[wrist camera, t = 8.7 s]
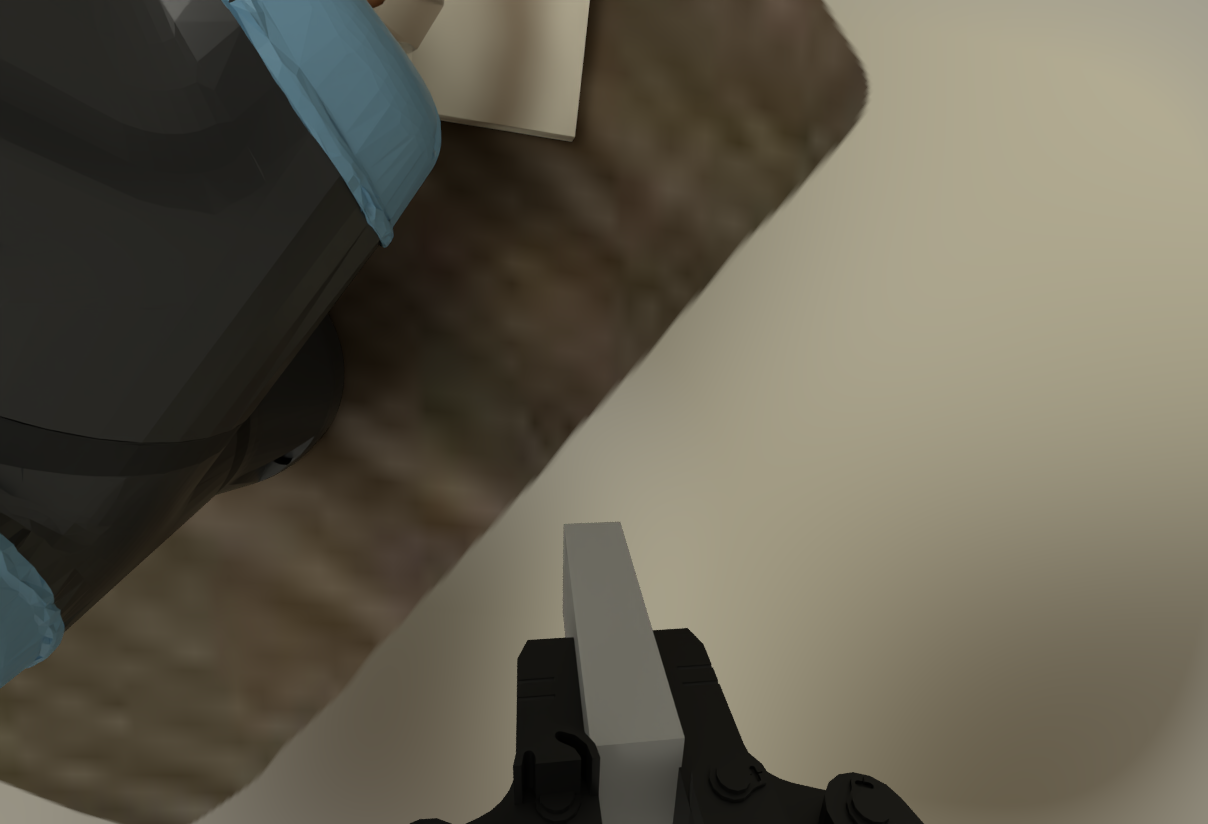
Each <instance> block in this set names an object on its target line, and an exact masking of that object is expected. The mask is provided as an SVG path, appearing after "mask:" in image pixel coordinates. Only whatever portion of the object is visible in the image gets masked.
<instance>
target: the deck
mask: <svg viewBox="0 0 1208 824" xmlns="http://www.w3.org/2000/svg"><path fill="white" fill-rule="evenodd" d="M589 3H590V0H385V1H384V3H383V4H382V5H380V6H378V7H375V8H373V9H374V11H375V12H376V13H377V15H378V16H379V17H380V18H381V20H382V21H383V23H384V24H385V25H386V27H387V28H388V29H389V31H390V32H391V34H392V35H393V36H394V38H395V39H396V40H397V42H398V43H399V44H400V46H401V47H402V49H403V50H404V51H405V53H406V54H407V56H408V57H409V59H410V60H411V62H412V63H413V65H414V66H415V68H416V69H417V71H418V72H419V74H420V75H421V77H422V79H423V80H424V82H425V84H426V86H427V88H428V89H429V91H430V93H431V95H432V98H433V100H434V103H435V106H436V108H437V111H438V114H439V117H440V120H442V121H448V122H454V123H460V124H466V125H472V126H478V127H484V128H490V129H497V130H503V131H509V132H515V133H521V134H527V135H533V136H539V137H545V138H552V139H558V140H564V141H570V142H572V141H573V139H574V138H575V132H576V123H577V114H578V105H579V95H580V86H581V77H582V68H583V59H584V49H585V40H586V31H587V22H588V13H589Z"/></svg>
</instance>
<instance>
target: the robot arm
mask: <svg viewBox="0 0 1208 824" xmlns="http://www.w3.org/2000/svg"><path fill="white" fill-rule="evenodd" d="M440 148H441V121H440V117H439V114H438V111H437V108H436V106H435V103H434V100H433V98H432V95H431V93H430V91H429V89H428V88H427V86H426V84H425V82H424V80H423V79H422V77H421V75H420V74H419V72H418V71H417V69H416V68H415V66H414V65H413V63H412V62H411V60H410V59H409V57H408V56H407V54H406V53H405V51H404V50H403V49H402V47H401V46H400V44H399V43H398V42H397V40H396V39H395V38H394V36H393V35H392V34H391V32H390V31H389V29H388V28H387V27H386V25H385V24H384V23H383V21H382V20H381V18H380V17H379V16H378V15H377V13H376V12H375V11H374V9H373V8H372V7H371V5H370V4H369V3H368V1H367V0H0V688H1V687H3V686H4V685H5V684H6V683H8V682H9V681H10V680H11V679H13V678H14V677H15V676H16V675H18V674H19V673H20V672H21V671H23V670H24V669H25V668H29V667H32V666H34V665H36V664H37V663H38V662H41V661H43V660H45V659H46V658H47V657H48V656H49V655H50V654H51V653H52V652H53V651H54V650H55V649H56V648H57V647H58V646H59V644H60V642H61V639H62V637H63V633H64V632H65V631H66V630H67V629H68V628H70V627H71V626H72V625H73V624H74V623H75V622H76V621H77V620H78V619H79V618H81V617H82V616H83V615H84V614H85V613H86V612H87V611H88V610H89V609H90V608H91V607H93V606H94V605H95V604H96V603H97V602H98V601H99V600H100V599H101V598H102V597H104V596H105V595H106V594H107V593H108V592H109V591H110V590H111V589H112V588H113V587H114V586H116V585H117V584H118V583H119V582H120V581H121V580H122V579H123V578H124V577H125V576H127V575H128V574H129V573H130V572H131V571H132V570H133V569H134V568H135V567H137V566H138V565H139V564H140V563H141V562H142V561H143V560H144V559H145V558H146V557H148V556H149V555H150V554H151V553H152V552H153V551H154V550H155V549H156V548H158V547H159V546H160V545H161V544H162V543H163V542H164V541H165V540H166V539H167V538H169V537H170V536H171V535H172V534H173V533H174V532H175V531H176V530H177V529H178V528H180V527H181V526H182V525H183V524H184V523H185V522H186V521H187V520H188V519H190V518H191V517H192V516H193V515H194V514H195V513H196V512H197V511H198V510H199V509H201V508H202V507H203V506H204V505H205V504H206V503H207V502H208V501H209V500H210V499H211V498H212V497H213V496H215V495H217V494H220V493H224V492H227V491H230V490H234V489H237V488H240V487H244V486H247V485H250V484H254V483H257V482H260V481H263V480H265V479H268V478H270V477H272V476H274V475H276V474H278V473H280V472H282V471H283V470H285V469H287V468H288V467H290V466H291V465H293V464H294V463H295V462H297V461H298V460H299V459H300V458H302V457H303V456H304V455H305V454H306V453H307V452H308V451H309V450H310V449H311V447H312V446H313V445H314V444H315V443H316V442H317V441H318V440H319V439H320V438H321V436H322V435H323V434H324V433H325V431H326V430H327V429H328V427H329V426H330V424H331V422H332V421H333V419H334V417H335V415H336V412H337V410H338V407H339V404H340V401H341V397H342V392H343V385H344V362H343V354H342V350H341V345H340V342H339V338H338V335H337V333H336V330H335V327H334V325H333V323H332V321H331V319H330V317H329V315H328V312H329V310H330V309H331V308H332V307H333V305H334V304H335V303H336V301H337V300H338V299H339V297H340V296H341V295H342V293H343V292H344V291H345V289H346V288H347V287H348V285H349V284H350V283H351V281H352V280H353V279H354V277H355V276H356V275H357V273H358V272H359V271H360V269H361V268H362V267H363V265H364V264H365V263H366V261H367V260H368V259H369V257H370V256H371V255H372V253H373V252H374V251H375V249H376V248H377V247H378V245H380V246H382V247H384V248H385V247H387V246H388V245H389V244H390V243H391V241H392V239H393V237H394V234H393V226H394V225H395V223H396V222H397V220H398V219H399V217H400V216H401V214H402V213H403V211H404V210H405V209H406V207H407V206H408V204H409V203H410V201H411V200H412V198H413V197H414V195H415V194H416V192H417V191H418V189H419V188H420V186H421V185H422V184H423V182H424V181H425V179H426V178H427V176H428V175H429V173H430V172H431V170H432V169H433V167H434V165H435V163H436V161H437V158H438V156H439V152H440ZM563 554H564V555H563V560H564V561H563V617H564V628H565V638H554V639H537V640H528V641H527V642H526V644H525V646H524V648H523V650H522V652H521V653H520V655H519V657H518V661H517V726H516V727H517V728H516V729H517V730H516V756H515V760H514V765H513V775H514V776H513V778H514V780H513V783H512V785H511V787H510V790H509V791H508V793H507V794H506V796H505V797H504V798H503V800H502V801H501V802H500V803H499V804H498V805H497V806H496V807H495V808H493V810H491V811H490V812H488V813H486V814H484V815H483V816H481V817H479V818H477V819H475V820H473V821H471V822H468V823H466V824H924V823H923V822H922V821H921V820H920V819H919V818H918V817H917V815H916V814H915V813H914V812H913V811H912V810H911V809H910V807H909V806H908V805H907V804H906V803H905V802H904V801H903V800H902V799H901V797H899V796H898V795H897V794H896V793H895V792H894V791H893V790H892V789H890V788H889V787H888V786H887V785H886V784H884V783H882V782H880V781H878V780H876V779H874V778H873V777H871V776H867V775H862V774H858V773H854V772H852V773H845V774H839V775H837V776H836V777H835V778H834V779H832V780H831V781H830V782H829V783H828V786H827V789H826V790H822V789H817V788H813V787H809V786H804V785H800V784H795V783H791V782H788V781H785V780H782V779H779V778H778V777H776V776H774V775H772V774H770V773H768V772H767V771H766V769H765V768H764V766H763V765H762V764H761V763H760V762H759V761H758V760H756V759H755V758H754V757H753V756H752V755H751V754H749V753H748V751H747V749H746V747H745V745H744V744H743V741H742V739H741V736H740V734H739V731H738V729H737V726H736V724H735V721H734V719H733V716H732V714H731V711H730V709H729V707H728V704H727V701H726V699H725V697H724V694H723V692H722V689H721V687H720V684H718V679H717V677H716V674H715V672H714V669H713V668H712V667H711V662H710V659H709V657H708V655H707V652H706V650H705V648H704V645H703V643H702V642H701V641H700V640H699V639H698V638H697V637H696V636H695V635H694V634H693V633H692V632H691V631H690V630H689V629H688V628H684V629H667V630H652V627H651V623H650V620H649V617H648V613H647V610H646V607H645V604H644V600H643V597H642V593H641V590H640V587H639V583H638V580H637V577H636V573H635V570H634V567H633V563H632V560H631V556H630V553H629V550H628V546H627V543H626V540H625V536H624V534H623V530H622V526H621V523H620V522H604V523H579V524H564V550H563ZM410 824H451V823H448V822H445V821H443V820H440V819H437V818H435V819H419V820H417V821H415V822H413V823H410Z"/></svg>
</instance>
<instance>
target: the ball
mask: <svg viewBox="0 0 1208 824" xmlns="http://www.w3.org/2000/svg"><path fill="white" fill-rule="evenodd" d="M367 1H368V3H369V4H370V5H371V7H372V8H373V7H377V6H379V5H381V4H383V3H384V1H385V0H367Z"/></svg>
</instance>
